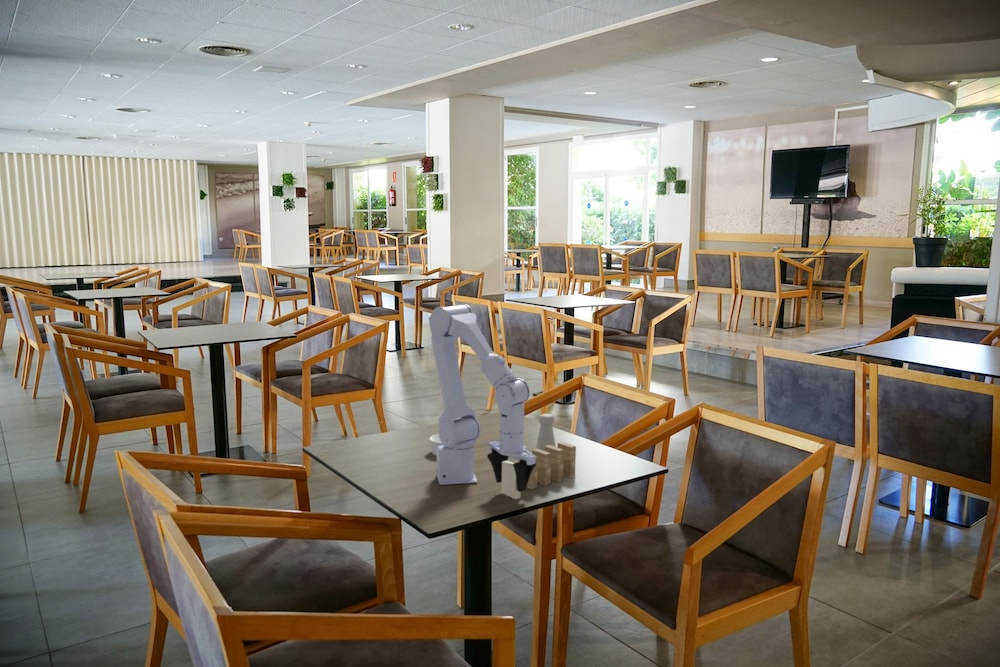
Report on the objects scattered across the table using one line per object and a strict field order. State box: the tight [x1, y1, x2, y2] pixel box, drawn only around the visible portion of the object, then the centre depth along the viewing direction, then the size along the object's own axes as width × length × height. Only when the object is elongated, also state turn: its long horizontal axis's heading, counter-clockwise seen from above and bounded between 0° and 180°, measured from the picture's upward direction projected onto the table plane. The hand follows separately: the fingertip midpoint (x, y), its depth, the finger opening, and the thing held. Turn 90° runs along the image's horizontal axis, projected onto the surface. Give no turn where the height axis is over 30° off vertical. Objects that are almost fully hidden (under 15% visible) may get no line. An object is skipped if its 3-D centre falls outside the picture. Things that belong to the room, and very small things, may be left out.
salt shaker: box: [535, 413, 556, 451], centre depth 209 cm, size 6×6×13 cm
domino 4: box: [557, 441, 577, 478], centre depth 199 cm, size 2×5×8 cm, turn 41°
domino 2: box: [531, 448, 551, 486], centre depth 193 cm, size 2×5×8 cm, turn 41°
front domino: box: [501, 460, 522, 500], centre depth 183 cm, size 2×5×8 cm, turn 41°
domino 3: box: [545, 445, 564, 482], centre depth 196 cm, size 2×5×8 cm, turn 41°
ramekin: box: [429, 433, 443, 457], centre depth 216 cm, size 9×9×4 cm
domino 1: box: [518, 456, 538, 490], centre depth 190 cm, size 2×5×8 cm, turn 41°
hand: (511, 486), depth 184 cm, fingers open, 7 cm apart
